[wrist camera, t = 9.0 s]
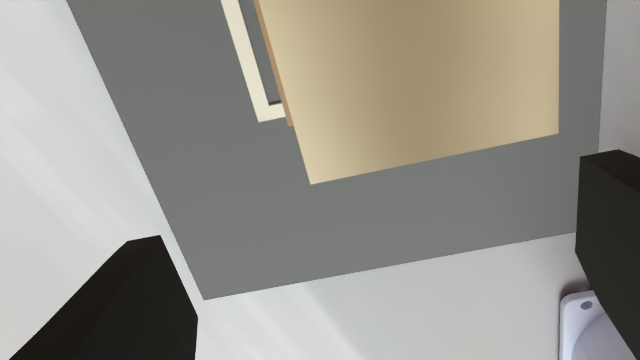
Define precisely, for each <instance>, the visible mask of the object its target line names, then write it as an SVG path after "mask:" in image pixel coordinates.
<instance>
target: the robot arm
mask: <svg viewBox="0 0 640 360" xmlns="http://www.w3.org/2000/svg"><path fill="white" fill-rule="evenodd" d="M575 253H576V255H577V257H578V259H579V261H580V263H581V266H582V268H583V270H584V272H585V274H586V276H587V279H588V281H589V283H590V285H591V287H592V289H593V290H590V291H584V292H578V293H573V294H569V295H567V296H565V297H564V298H563V299H562V300H561V303H560V348H559V360H640V158H639V157H637V156H634V155H632V154H629V153H627V152H624V151H621V150H612V151H607V152H602V153H596V154H591V155H586V156H580V163H579V184H578V204H577V225H576V245H575ZM583 302H585V303H583ZM197 323H198V316H197V314H196V312H195V309H194V307H193V305H192V303H191V301H190V299H189V296H188V294H187V292H186V290H185V288H184V285H183V283H182V281H181V279H180V277H179V275H178V272H177V270H176V268H175V266H174V264H173V262H172V259H171V257H170V255H169V253H168V251H167V249H166V246H165V244H164V242H163V240H162V238H161V236H160V235H157V236H152V237H147V238H141V239H136V240H131V241H127V242H126V243H125V244H124V245H123V246H121V247H120V248H119V249H118V250H117V251H116V252H115V253H114V254H113V255H112V256H111V257H110V258H109V259H108V260H107V261H106V262H105V263H104V264H103V265H102V266H101V267H100V268H99V269H98V270H97V271H96V272H95V273H94V274H93V275H92V276H91V277H90V278H89V279H88V281H87V282H86V283H85V284H84V285H83V286H82V287H81V288H80V289H79V290H78V291H77V292H76V293H75V294H74V295H73V296H72V297H71V298H70V299H69V300H68V301H67V302H66V303H65V304H64V305H63V307H62V308H61V309H60V310H59V311H58V312H57V313H56V314H55V315H54V316H53V317H52V318H51V319H50V320H49V321H48V322H47V323H46V324H45V325H44V326H43V327H42V328H41V329H40V330H39V331H38V332H37V333H36V334H35V335H34V336H33V337H32V338H31V339H30V340H29V341H28V342H27V343H26V344H25V345H24V346H23V347H22V348H21V349H20V350H18V351H17V352H16V353H15V354H14V355H13V356H12V357H11V358H10V359H9V360H195V351H196V339H197Z"/></svg>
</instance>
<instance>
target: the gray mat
mask: <svg viewBox="0 0 640 360" xmlns="http://www.w3.org/2000/svg"><path fill="white" fill-rule="evenodd" d="M66 1H67V3H68V5H69V7H70V9H71V12H72V14H73V16H74V18H75V20H76V22H77V25H78V27H79V29H80V31H81V33H82V36H83V38H84V40H85V42H86V44H87V46H88V49H89V51H90V53H91V55H92V57H93V60H94V62H95V64H96V66H97V68H98V70H99V73H100V75H101V77H102V79H103V81H104V84H105V86H106V88H107V90H108V92H109V94H110V97H111V99H112V101H113V103H114V105H115V108H116V110H117V112H118V114H119V116H120V118H121V121H122V123H123V125H124V127H125V129H126V132H127V134H128V136H129V138H130V140H131V142H132V145H133V147H134V149H135V151H136V153H137V156H138V158H139V160H140V162H141V164H142V166H143V169H144V171H145V173H146V175H147V177H148V180H149V182H150V184H151V186H152V188H153V190H154V193H155V195H156V197H157V199H158V201H159V204H160V206H161V208H162V210H163V212H164V214H165V217H166V219H167V221H168V223H169V225H170V228H171V230H172V232H173V234H174V236H175V238H176V241H177V243H178V245H179V247H180V249H181V252H182V254H183V256H184V258H185V260H186V262H187V265H188V267H189V269H190V271H191V273H192V276H193V278H194V280H195V282H196V284H197V286H198V289H199V291H200V293H201V295H202V297H203V300H208V299H213V298H219V297H224V296H230V295H235V294H240V293H246V292H251V291H257V290H262V289H268V288H273V287H279V286H284V285H289V284H295V283H300V282H306V281H311V280H317V279H322V278H327V277H333V276H338V275H344V274H349V273H355V272H360V271H366V270H371V269H376V268H382V267H387V266H393V265H398V264H404V263H409V262H414V261H420V260H425V259H431V258H436V257H442V256H447V255H452V254H458V253H463V252H469V251H474V250H480V249H485V248H491V247H496V246H501V245H507V244H512V243H518V242H523V241H529V240H534V239H539V238H545V237H550V236H556V235H561V234H567V233H572V232H576V225H577V204H578V184H579V163H580V156H586V155H591V154H596V153H598V142H599V124H600V107H601V90H602V73H603V56H604V39H605V22H606V5H607V0H559V133H558V134H553V135H549V136H544V137H539V138H534V139H529V140H524V141H520V142H515V143H510V144H505V145H500V146H495V147H490V148H486V149H481V150H476V151H471V152H466V153H461V154H457V155H452V156H447V157H442V158H437V159H432V160H427V161H423V162H418V163H413V164H408V165H403V166H398V167H394V168H389V169H384V170H379V171H374V172H369V173H364V174H360V175H355V176H350V177H345V178H340V179H335V180H331V181H326V182H321V183H316V184H311V185H310V181H309V178H308V174H307V171H306V167H305V164H304V160H303V156H302V153H301V149H300V146H299V142H298V139H297V135H296V132H295V128H294V126H288V123H287V119H286V116H285V112H284V109H283V105H282V101H281V98H280V94H279V91H278V87H277V84H276V80H275V76H274V73H273V69H272V66H271V62H270V58H269V55H268V51H267V48H266V44H265V41H264V37H263V33H262V30H261V26H260V23H259V19H258V16H257V12H256V8H255V5H254V1H253V0H66Z"/></svg>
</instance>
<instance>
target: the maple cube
mask: <svg viewBox="0 0 640 360" xmlns="http://www.w3.org/2000/svg"><path fill="white" fill-rule="evenodd" d="M259 4H260V7H261V11H262V15H263V18H264V22H265V25H266V29H267V32H268V36H269V39H270V43H271V46H272V50H273V54H274V57H275V61H276V64H277V68H278V71H279V75H280V78H281V82H282V85H283V89H284V93H285V96H286V100H287V103H288V107H289V110H290V114H291V117H292V121H293V125H294V128H295V132H296V135H297V139H298V142H299V146H300V149H301V153H302V156H303V160H304V164H305V167H306V171H307V174H308V178H309V181H310V185H311V184H316V183H321V182H326V181H331V180H335V179H340V178H345V177H350V176H355V175H360V174H364V173H369V172H374V171H379V170H384V169H389V168H394V167H398V166H403V165H408V164H413V163H418V162H423V161H427V160H432V159H437V158H442V157H447V156H452V155H457V154H461V153H466V152H471V151H476V150H481V149H486V148H490V147H495V146H500V145H505V144H510V143H515V142H520V141H524V140H529V139H534V138H539V137H544V136H549V135H553V134H558V133H559V0H259Z"/></svg>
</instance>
